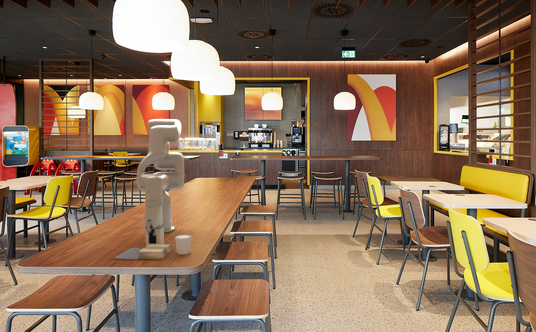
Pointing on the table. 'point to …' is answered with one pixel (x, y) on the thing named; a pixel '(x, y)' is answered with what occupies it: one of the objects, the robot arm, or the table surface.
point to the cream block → (159, 235)
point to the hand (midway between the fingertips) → (154, 242)
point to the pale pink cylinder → (183, 244)
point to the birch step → (154, 251)
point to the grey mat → (129, 254)
